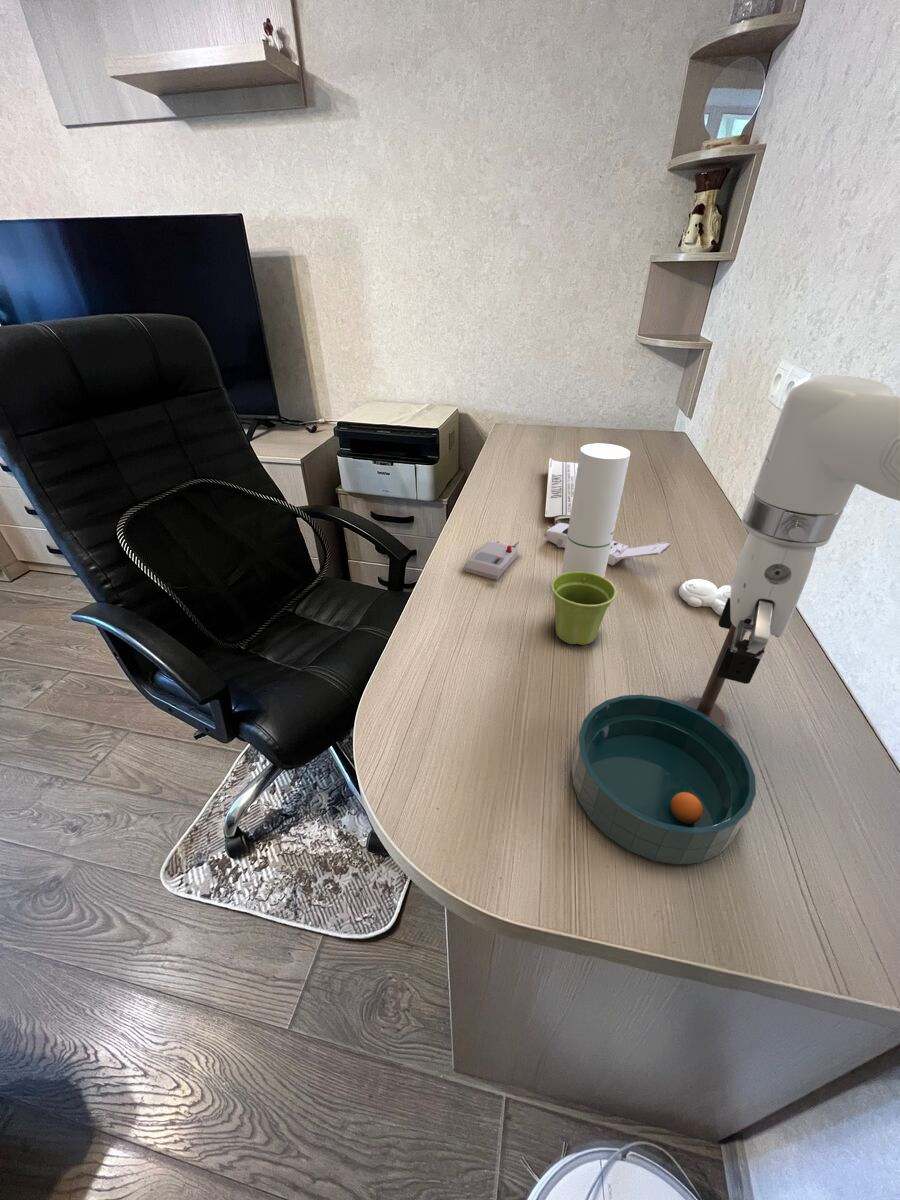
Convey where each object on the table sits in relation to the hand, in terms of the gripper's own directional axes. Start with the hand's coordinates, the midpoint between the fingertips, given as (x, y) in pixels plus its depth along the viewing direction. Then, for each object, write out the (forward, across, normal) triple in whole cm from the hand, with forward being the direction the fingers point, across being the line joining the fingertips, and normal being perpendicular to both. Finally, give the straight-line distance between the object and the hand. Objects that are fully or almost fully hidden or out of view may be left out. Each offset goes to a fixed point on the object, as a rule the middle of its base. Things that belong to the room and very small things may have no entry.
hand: (732, 652), depth 58 cm
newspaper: (+11, +63, +33) cm, 72 cm away
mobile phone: (+11, +37, +21) cm, 44 cm away
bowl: (+11, -14, +5) cm, 18 cm away
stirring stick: (+11, 0, 0) cm, 11 cm away
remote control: (+11, +26, +38) cm, 48 cm away
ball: (+9, -16, +2) cm, 19 cm away
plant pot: (+11, +10, +19) cm, 24 cm away
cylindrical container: (+11, +22, +21) cm, 32 cm away
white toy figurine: (+11, +29, -1) cm, 31 cm away
